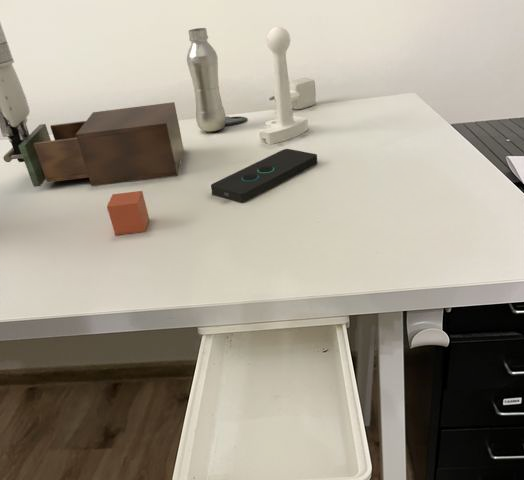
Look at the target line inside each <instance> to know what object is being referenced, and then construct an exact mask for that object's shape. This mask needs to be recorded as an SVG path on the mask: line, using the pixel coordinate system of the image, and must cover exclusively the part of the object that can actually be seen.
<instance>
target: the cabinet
mask: <svg viewBox="0 0 524 480" xmlns="http://www.w3.org/2000/svg"><path fill="white" fill-rule="evenodd" d="M85 121H86V122H85V123H84V124H83V126H82V127H81V128H80V130H79V131H78V132H77V133H76V138H77V141H78V144H79V147H80V150H81V154H82V157H83V160H84V163H85V166H86V170H87V173H88V176H89V178H88V179H89V182H90V185H91V186H90V187H94V186H103V185H109V184H110V185H112V184H119V183H127V182H135V181H145V180H152V179H161V178H168V177H177V176H178V175H179V171H180V168H181V163H182V160H183V155H184V153H185V152H184V151H185V148H184V144H183V139H182V134H181V129H180V123H179V119H178V114H177V108H176V102H175V101H172V102H164V103H156V104H147V105H140V106H132V107H124V108H116V109H109V110H101V111H93V112H92V113H91V114H90V115H89V117H88V118H87V119H86V120H85Z"/></svg>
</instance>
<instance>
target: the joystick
mask: <svg viewBox="0 0 524 480" xmlns="http://www.w3.org/2000/svg"><path fill="white" fill-rule="evenodd" d="M266 44H267V47H268V49H269V51H271V53H272V56H273V69H274V91H275V92H274V93H275V96H276V99H275V100H276V101H275V115H276V116H275V117H276V119H270V120H268V121H266V122H265V123H264V125H265V128H261V129H259V130H258V134H259V140H261V141H265V143H266V144H268V145H274V144H277V143H281V142H285V141H288V140H291V139H293V138H295V137H298V136H300V135H302V134H303V133H305V132H307V131H308V130H309V120H308V117H304V116H298V115H297V116H295V115H294V111H293V108H292V103H291V95H290V87H289V82H290V80H289V71H288V63H287V51H288V49H289V47H290V45H291V36H290V33H289V31H288V30H287V29H286V28H284V27H283V26H276V27H273V28H272V29H270V31H268V34H267V37H266Z"/></svg>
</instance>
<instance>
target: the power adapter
mask: <svg viewBox="0 0 524 480" xmlns="http://www.w3.org/2000/svg"><path fill="white" fill-rule="evenodd" d="M289 87H290V95H291V103H292V109H294V110H303V109H306V108H310V107H313V106H314V105H316V102H317V94H316V81H315V79H314V78H309V77H302V78H298V79H295V80H291V81H289ZM268 99H269V101H275V102H276V95H274V96H273V95H272V96H270V97H269V98H268Z"/></svg>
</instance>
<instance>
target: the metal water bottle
mask: <svg viewBox="0 0 524 480" xmlns="http://www.w3.org/2000/svg"><path fill="white" fill-rule="evenodd" d="M188 37H189V38H188V39H189V42H191V44H190V47H189V48H188V52H187V55H186V63H187V68H188V71H189V74H190V78H191V81H192V86H193V89H194V96H195V98H194V99H195V108H196V110H195V120H196V124H197V127H198V128H199V129H200V131H202V132H216V131H219V130H222V129H224V128H225V126H226V123H227V115H226V112H225V109H224V106H223V102H222V97H221V92H220V85H219V60H218V59H219V58H218V54H217V51H216V50H215V48H214V47H213V46H212V45H211V44H210V43H209V41H208V39H209V35H208V31H207V28H206V27H199V28H191V29H189V30H188Z"/></svg>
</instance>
